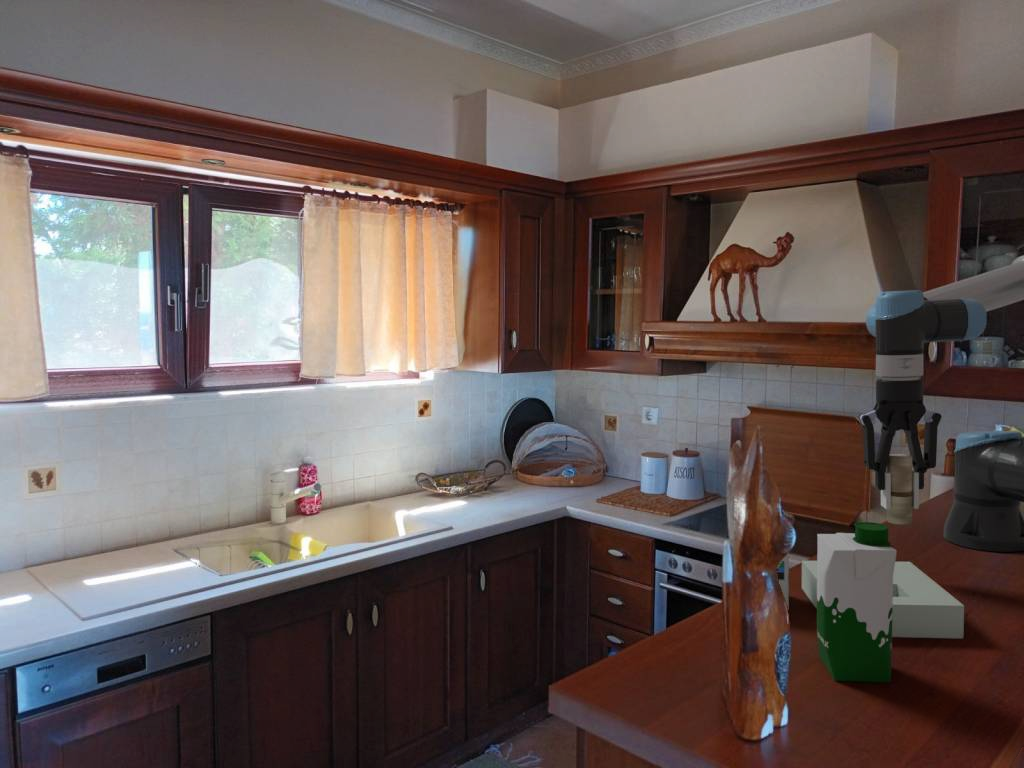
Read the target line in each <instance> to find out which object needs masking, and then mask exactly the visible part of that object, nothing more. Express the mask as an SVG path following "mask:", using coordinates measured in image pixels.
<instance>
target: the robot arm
mask: <svg viewBox="0 0 1024 768" xmlns="http://www.w3.org/2000/svg"><path fill="white" fill-rule="evenodd" d="M1023 300H1024V254H1023V255H1020V256H1018V257H1017V258H1015V259H1014V260H1013V261H1012V262H1011V264H1008V265H1005V266H1002V267H999V268H996V269H992V270H989V271H986V272H983V273H980V274H978V275H977V274H976V275H974V276H971V277H968V278H967V277H966V278H965V279H961V280H958V281H955V282H952V283H948V284H946V285H942V286H939V287H935V288H932V289H930V290H927V291H922V290H920V289H914V290H895V291H894V290H893V291H882V292H879V294H878V295H877V296H876V301H875V304H873V305H872V306H871V307H870V308H869V309H868V311H867V314H866V318H865V324H866V328H867V331H868V332H869V334H870V335H872V336H873V337H875V353H876V354H875V375H876V376H877V377H878V378H877V379H876V381H875V405H874V407H873V410H872V411H869V412H867V413H860V414H858V416H857V417H858V419H859V423H860V425H861V427H862V429H861V431H862V449H863V450H862V451H863V465H864V466H865V468H867V469H869V470H872V471H874V473H875V474H874V475H875V476H874V477H875V478H874V479H875V481H874V482H875V483H874V484H875V488H876V489H877V490H878V491H880V506H881V507H883V509H885V510H887V509H891V473H889V472H887V464H888V459H889V455H890V454H891V449H892V444H893V441H894V437H896V432H897V431H901V430H902V431H903V433H904V434H905V439H906V442H907V443H906V444H907V446H908V447H907V448H908V453H909V455H911V456H912V509H914V510H918V509H920V508H919V507H920V499H919V498H920V497H919V496H920V490H923V489H924V488H925V473H926V472H927V471H928V470H929V469H934V468H936V466H937V448H938V427H939V424H940V422H941V420H942V414H941V413H939V412H935V411H931V410H929V409H928V410H927V409H926V406H925V404H924V380H923V379H922V378H920V377H922V376H923V375H924V351H925V350H924V346H925V345H924V344H926V343H942V342H960V343H961V342H964V341H969V340H974V339H976V338H979V336H981V335H982V334H983V332H984V331H985V329H986V327H987V312H989V311H993V310H996V309H1000V308H1002V307H1006V306H1009V305H1012V304H1014V303H1017V302H1018V303H1019V302H1021V301H1023ZM922 418H923V421H924V422H925V423H924V431H923V432H924V433H923V451H922V448H921V443H920V438H919V430H918V424H919V422H920V421H921V419H922ZM876 419H878V420H879V422H880V424H881V429H880V438H879V443H878V448H877V452H876V444H875V443H876V442H875V427H874V424H876ZM922 452H923V453H922ZM953 452H954V462H953V463H954V469H953V470H954V476H953V477H954V481H953V483H954V487H953V488H954V489H953V490H954V492H953V494H954V495H953V496H954V497H953V504H952V505H951V508H950V511H949V513H948V516H947V518H946V521H945V523H944V525H943V538H944V539H945V540H946V541H947V542H950V543H951V544H954V545H957V546H961V547H965V548H968V549H973V550H980V551H988V552H1004V553H1005V552H1006V553H1007V552H1010V553H1011V552H1020V551H1024V515H1023V511H1022V509H1021V503H1024V435H1023V433H1022V432H1021V431H1018V430H987V431H986V430H985V431H983V430H982V431H980V430H979V431H967V432H962V433H960V434H958V436H957V437H956V440H955V449H954V450H953Z"/></svg>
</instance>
